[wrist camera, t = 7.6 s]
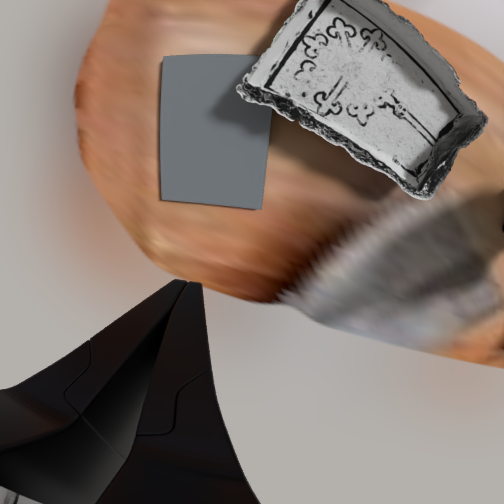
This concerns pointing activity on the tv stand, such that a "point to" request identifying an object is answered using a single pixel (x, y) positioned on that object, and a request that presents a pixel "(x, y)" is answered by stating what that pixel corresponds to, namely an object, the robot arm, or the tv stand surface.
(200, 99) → the mat
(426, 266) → the tv stand surface
